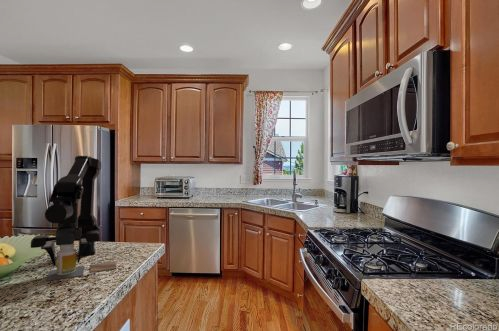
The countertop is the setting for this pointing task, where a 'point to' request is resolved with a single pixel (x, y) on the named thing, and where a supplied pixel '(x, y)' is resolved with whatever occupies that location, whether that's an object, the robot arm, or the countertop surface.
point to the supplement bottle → (66, 259)
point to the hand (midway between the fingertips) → (66, 264)
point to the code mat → (55, 276)
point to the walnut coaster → (103, 266)
